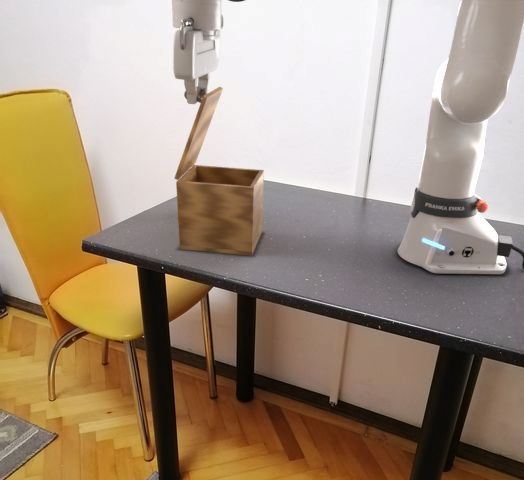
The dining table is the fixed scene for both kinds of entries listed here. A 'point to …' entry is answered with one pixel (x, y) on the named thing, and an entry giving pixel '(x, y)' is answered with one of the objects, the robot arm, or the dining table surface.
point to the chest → (220, 209)
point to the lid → (198, 129)
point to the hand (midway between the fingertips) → (197, 100)
